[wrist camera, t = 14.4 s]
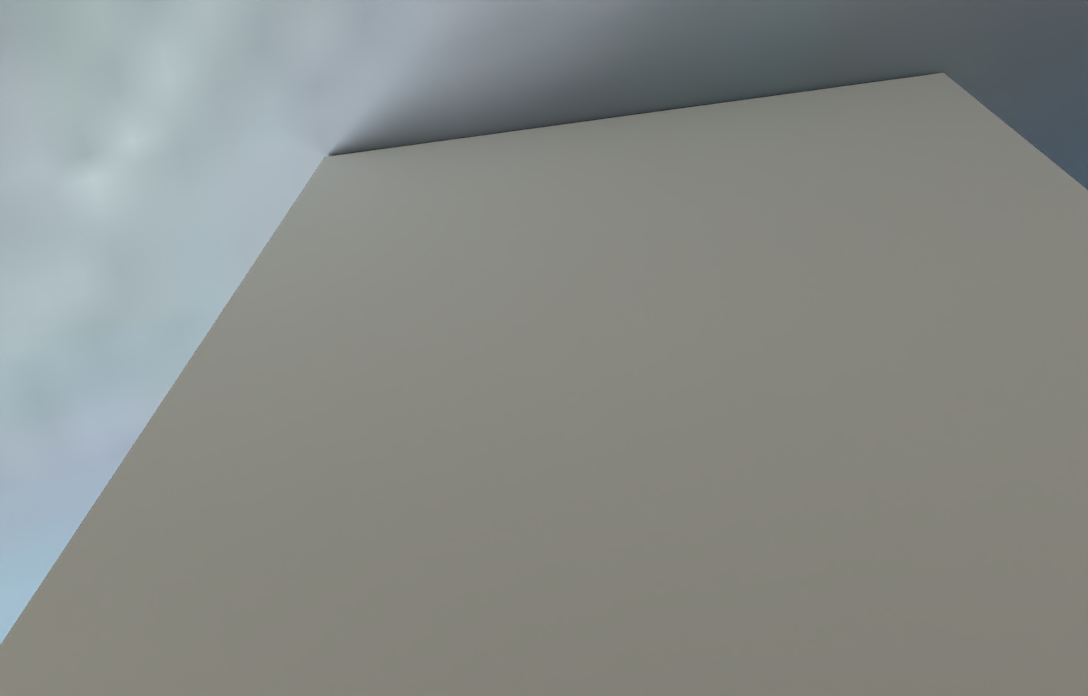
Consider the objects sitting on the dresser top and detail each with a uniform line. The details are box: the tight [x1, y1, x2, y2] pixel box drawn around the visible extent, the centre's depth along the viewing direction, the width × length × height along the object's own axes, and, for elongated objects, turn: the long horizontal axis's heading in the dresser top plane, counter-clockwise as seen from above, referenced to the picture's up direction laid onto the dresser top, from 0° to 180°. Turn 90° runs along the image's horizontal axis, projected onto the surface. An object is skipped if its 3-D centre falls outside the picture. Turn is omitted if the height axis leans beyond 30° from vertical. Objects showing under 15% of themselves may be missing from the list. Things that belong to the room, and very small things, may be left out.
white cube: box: [0, 73, 1088, 696], centre depth 9 cm, size 8×8×8 cm
